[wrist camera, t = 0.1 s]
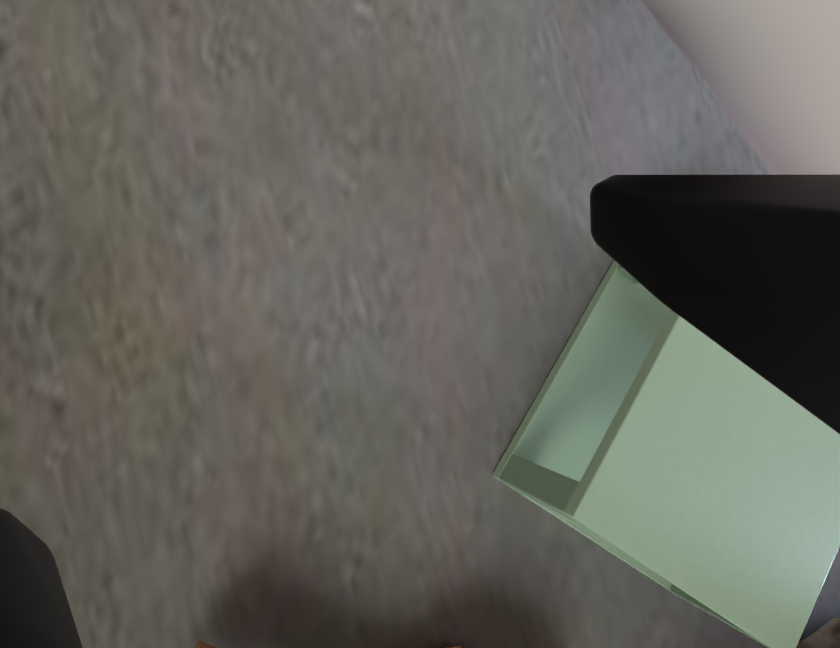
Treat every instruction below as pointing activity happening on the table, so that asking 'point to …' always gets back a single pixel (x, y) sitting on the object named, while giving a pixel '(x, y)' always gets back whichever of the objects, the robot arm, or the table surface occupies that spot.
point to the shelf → (683, 464)
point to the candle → (823, 636)
